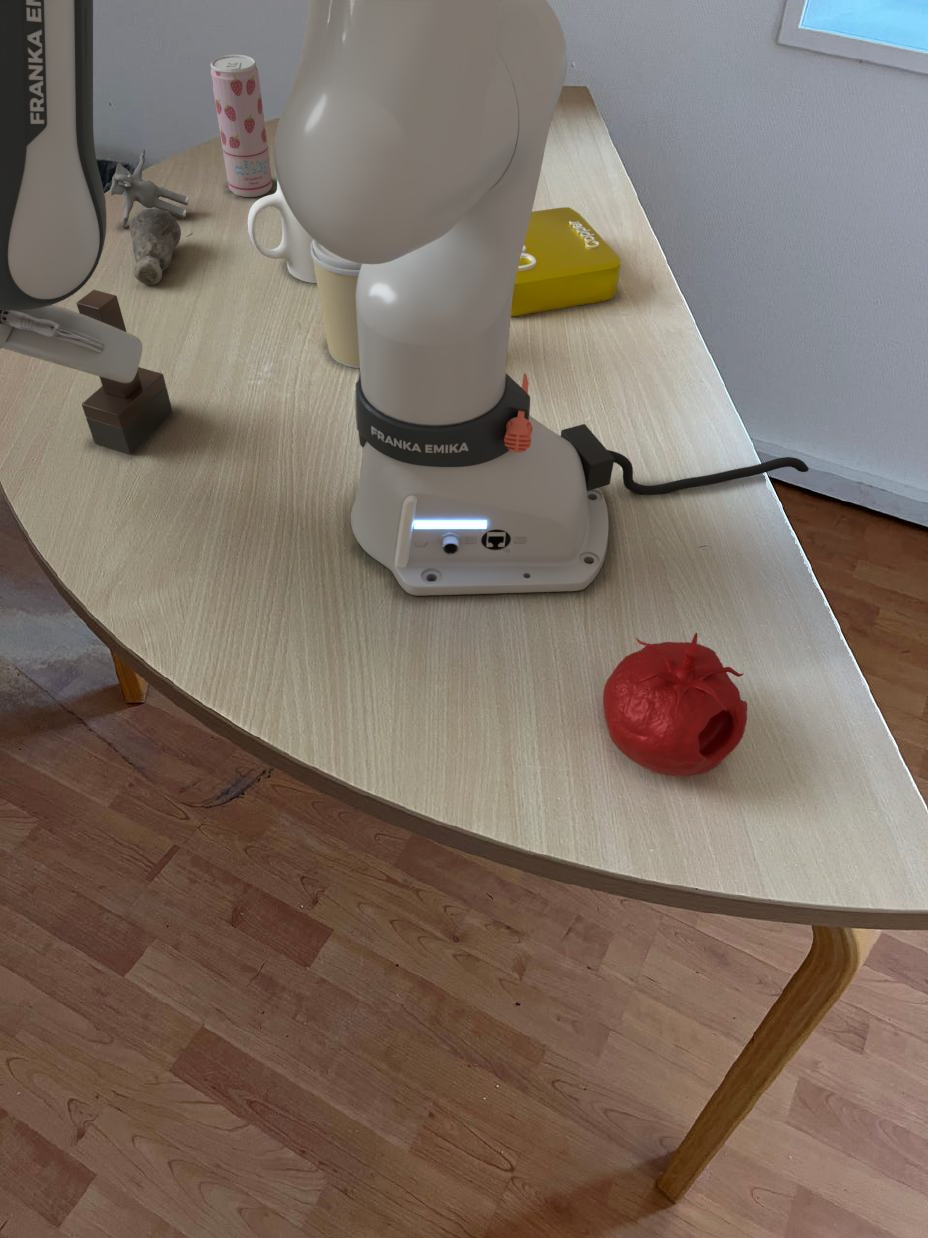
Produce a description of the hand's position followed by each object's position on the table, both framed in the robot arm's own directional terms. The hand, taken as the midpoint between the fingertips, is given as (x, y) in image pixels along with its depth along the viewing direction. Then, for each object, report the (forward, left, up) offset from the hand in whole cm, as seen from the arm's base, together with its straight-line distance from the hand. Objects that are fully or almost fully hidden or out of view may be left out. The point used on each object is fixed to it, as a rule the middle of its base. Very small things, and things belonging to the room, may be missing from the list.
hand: (75, 349), depth 78 cm
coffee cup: (-20, -21, -11) cm, 31 cm away
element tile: (-37, -39, -11) cm, 55 cm away
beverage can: (+2, -55, -11) cm, 56 cm away
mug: (-10, -36, -11) cm, 39 cm away
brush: (-1, -4, -11) cm, 12 cm away
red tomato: (-51, +24, -11) cm, 58 cm away
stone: (+7, -34, -11) cm, 36 cm away
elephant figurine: (+12, -46, -11) cm, 49 cm away
